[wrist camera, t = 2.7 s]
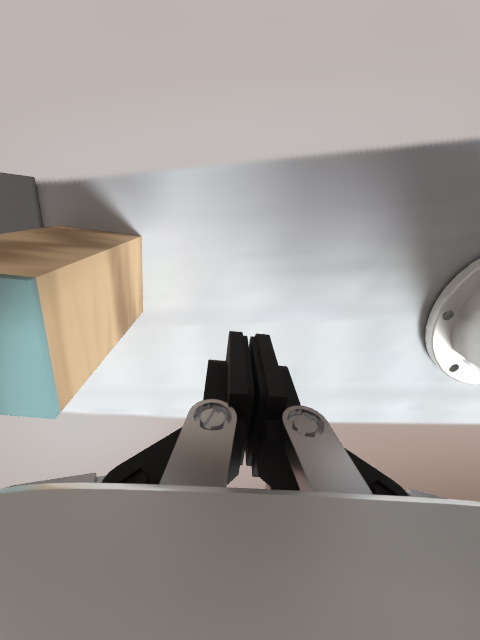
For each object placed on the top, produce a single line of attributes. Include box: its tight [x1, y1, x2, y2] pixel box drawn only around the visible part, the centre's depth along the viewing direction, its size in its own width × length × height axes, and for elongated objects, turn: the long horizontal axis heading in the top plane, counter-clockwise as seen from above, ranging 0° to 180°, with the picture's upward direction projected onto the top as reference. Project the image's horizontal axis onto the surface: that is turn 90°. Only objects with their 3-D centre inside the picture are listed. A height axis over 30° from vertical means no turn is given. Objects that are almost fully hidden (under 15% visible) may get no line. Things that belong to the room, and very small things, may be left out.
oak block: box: [0, 226, 143, 419], centre depth 15 cm, size 6×6×12 cm
